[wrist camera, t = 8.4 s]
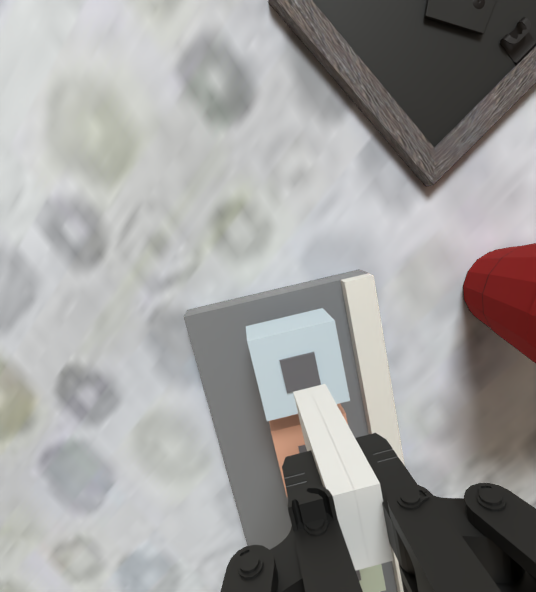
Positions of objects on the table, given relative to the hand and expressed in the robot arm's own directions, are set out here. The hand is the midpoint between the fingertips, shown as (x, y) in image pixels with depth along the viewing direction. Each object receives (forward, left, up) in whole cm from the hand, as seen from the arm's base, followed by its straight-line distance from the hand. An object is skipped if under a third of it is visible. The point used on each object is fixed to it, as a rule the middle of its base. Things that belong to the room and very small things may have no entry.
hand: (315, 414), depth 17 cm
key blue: (0, 0, -8) cm, 8 cm away
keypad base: (-10, 0, -12) cm, 16 cm away
